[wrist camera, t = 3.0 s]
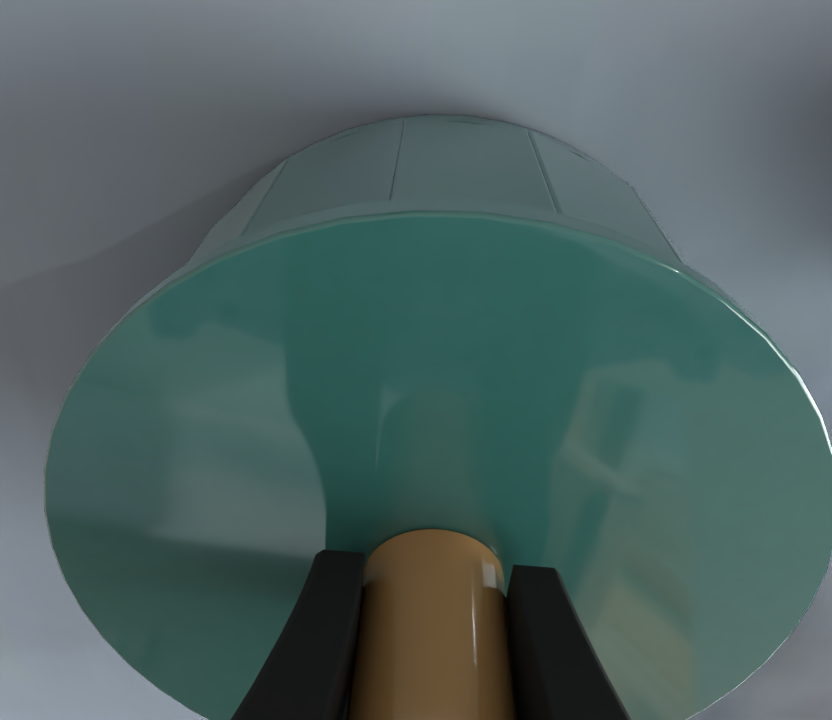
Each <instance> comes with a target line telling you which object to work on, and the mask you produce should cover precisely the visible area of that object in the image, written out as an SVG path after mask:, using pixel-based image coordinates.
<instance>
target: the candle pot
mask: <svg viewBox="0 0 832 720" xmlns="http://www.w3.org/2000/svg"><path fill="white" fill-rule="evenodd" d="M408 198H436V199H480V200H487V201H494V202H500V203H507V204H514V205H520V206H527V207H534V208H540V209H547V210H550V211H554V212H557V213H561V214H564V215H568V216H571V217H575V218H578V219H582V220H585V221H588V222H592V223H595V224H599V225H602V226H606V227H609V228H611V229H614V230H616V231H618V232H621V233H623V234H625V235H627V236H630V237H632V238H634V239H636V240H639V241H641V242H643V243H646V244H648V245H650V246H652V247H655V248H657V249H659V250H661V251H664V252H666V253H667V254H669V255H671V256H672V257H674V258H675V259H677V260H679V261H680V262H682V263H683V264H685V265H687V266H688V267H689V265H688V264H687V262H686V261H685V260H684V258H683V257H682V255H681V254H680V253H679V251H678V250H677V248H676V247H675V246H674V244H673V243H672V241H671V240H670V239H669V237H668V236H667V234H666V233H665V232H664V230H663V229H662V227H661V226H660V224H659V223H658V221H657V220H656V218H655V217H654V216H653V215H652V213H651V212H650V210H649V209H648V208H647V206H646V205H645V203H644V202H643V201H642V199H641V198H640V196H639V195H638V194H637V192H636V191H635V189H634V188H633V187H631V186H630V185H629V184H628V183H627V182H626V181H624V180H622V179H620V178H618V177H616V176H615V175H614V174H612V173H611V172H610V171H609V170H608V169H607V168H605V167H604V166H602V165H601V164H599V163H598V162H596V161H594V160H593V159H591V158H590V157H588V156H587V155H585V154H584V153H582V152H580V151H579V150H577V149H576V148H574V147H571V146H569V145H567V144H565V143H563V142H560V141H558V140H556V139H554V138H552V137H550V136H547V135H545V134H543V133H540V132H537V131H534V130H530V129H527V128H524V127H520V126H517V125H514V124H510V123H507V122H503V121H497V120H490V119H484V118H477V117H471V116H459V115H420V116H412V117H403V118H394V119H386V120H382V121H378V122H375V123H371V124H367V125H363V126H359V127H355V128H351V129H348V130H346V131H343V132H341V133H338V134H336V135H333V136H331V137H328V138H326V139H324V140H321V141H319V142H316V143H314V144H312V145H311V146H309V147H307V148H305V149H304V150H302V151H300V152H298V153H295V154H293V155H292V156H291V157H288V158H286V159H285V160H284V161H283V162H282V163H281V164H279V165H278V166H277V167H276V168H274V169H273V170H272V171H271V172H269V173H268V174H267V175H266V176H264V177H263V178H262V179H261V180H259V181H258V182H257V183H256V184H255V185H254V186H253V187H252V188H251V189H250V190H249V191H248V192H247V193H246V194H245V195H244V197H243V198H242V199H241V200H240V201H239V202H238V203H237V204H236V205H235V206H234V207H233V208H232V209H231V210H230V211H229V212H228V213H227V214H226V215H225V216H224V217H223V218H221V219H220V220H219V221H218V222H217V223H216V224H215V225H214V226H213V227H212V229H211V230H210V232H209V233H208V234H207V236H206V237H205V239H204V240H203V241H202V243H201V244H200V246H199V247H198V248H197V250H196V251H195V252H194V254H193V255H192V257H191V258H190V259H189V261H188V262H187V264H188V263H190V262H192V261H194V260H195V259H197V258H199V257H201V256H203V255H204V254H206V253H208V252H210V251H211V250H213V249H215V248H217V247H219V246H220V245H222V244H224V243H226V242H228V241H230V240H233V239H236V238H238V237H241V236H243V235H246V234H248V233H251V232H254V231H256V230H259V229H261V228H264V227H267V226H269V225H272V224H274V223H277V222H280V221H282V220H285V219H289V218H294V217H298V216H302V215H306V214H310V213H315V212H319V211H323V210H327V209H331V208H336V207H340V206H344V205H350V204H360V203H370V202H379V201H389V200H398V199H408ZM187 264H186V265H187Z"/></svg>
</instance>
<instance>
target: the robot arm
mask: <svg viewBox="0 0 832 720" xmlns="http://www.w3.org/2000/svg"><path fill="white" fill-rule="evenodd" d="M364 555H365V553H362V552H350V551H337V550H325V549H323V550H322V551H320V552H319V553H317V554H316V555H315V558H314V561H313V564H312V566H311V569H310V572H309V574H308V577H307V579H306V582H305V584H304V587H303V589H302V591H301V593H300V596H299V598H298V600H297V602H296V604H295V606H294V608H293V610H292V612H291V614H290V616H289V618H288V620H287V622H286V624H285V626H284V628H283V630H282V632H281V634H280V636H279V638H278V640H277V641H276V643H275V645H274V647H273V649H272V650H271V652H270V654H269V656H268V658H267V659H266V661H265V663H264V665H263V667H262V668H261V670H260V672H259V674H258V676H257V677H256V679H255V681H254V683H253V684H252V686H251V688H250V689H249V691H248V693H247V694H246V696H245V697H244V699H243V701H242V702H241V704H240V705H239V707H238V709H237V710H236V712H235V713H234V715H233V717H232V718H231V720H345V719H346V711H347V703H348V694H349V686H350V678H351V671H352V664H353V659H354V653H355V648H356V640H357V631H358V623H359V615H360V606H361V598H362V590H363V573H364ZM506 604H507V615H508V626H509V637H510V649H511V660H512V671H513V682H514V694H515V705H516V716H517V720H631V718H630V716H629V714H628V712H627V711H626V709H625V707H624V705H623V703H622V701H621V700H620V698H619V696H618V694H617V692H616V690H615V689H614V687H613V685H612V683H611V681H610V679H609V678H608V676H607V674H606V672H605V670H604V668H603V666H602V664H601V662H600V660H599V658H598V656H597V654H596V652H595V650H594V648H593V646H592V644H591V642H590V640H589V638H588V636H587V634H586V631H585V629H584V627H583V625H582V623H581V621H580V619H579V616H578V614H577V612H576V610H575V608H574V605H573V603H572V601H571V598H570V596H569V594H568V592H567V589H566V587H565V584H564V582H563V579H562V577H561V574H560V573H559V572H558V571H557V570H556V569H555V568H551V567H539V566H526V565H514V564H513V568H512V573H511V577H510V582H509V586H508V591H507V595H506Z"/></svg>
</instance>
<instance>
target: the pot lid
mask: <svg viewBox="0 0 832 720" xmlns="http://www.w3.org/2000/svg"><path fill="white" fill-rule="evenodd" d="M44 511H45V516H46V521H47V526H48V531H49V536H50V542H51V546H52V549H53V551H54V554H55V557H56V559H57V562H58V565H59V567H60V570H61V573H62V575H63V578H64V580H65V582H66V584H67V585H68V587H69V589H70V591H71V592H72V594H73V596H74V598H75V599H76V601H77V603H78V605H79V606H80V608H81V610H82V612H83V613H84V614H85V615H86V617H87V618H88V619H89V621H90V622H91V623H92V625H93V626H94V627H95V628H96V630H97V631H98V632H99V634H100V635H101V636H102V638H103V639H104V640H105V641H106V642H107V643H108V644H109V645H110V646H111V647H112V648H113V649H114V650H115V651H116V652H117V653H118V654H119V655H120V656H121V657H122V658H123V659H124V660H125V661H126V662H127V663H128V664H129V665H130V666H131V667H132V668H133V669H134V670H136V671H137V672H138V673H139V674H141V675H142V676H143V677H144V678H146V679H147V680H148V681H149V682H150V683H152V684H153V685H154V686H155V687H157V688H158V689H159V690H161V691H162V692H164V693H165V694H167V695H168V696H170V697H171V698H173V699H174V700H176V701H178V702H179V703H181V704H182V705H184V706H185V707H187V708H188V709H190V710H192V711H193V712H195V713H197V714H199V715H201V716H203V717H205V718H207V719H208V720H231V718H232V717H233V715H234V713H235V712H236V710H237V709H238V707H239V705H240V704H241V702H242V701H243V699H244V697H245V696H246V694H247V693H248V691H249V689H250V688H251V686H252V684H253V683H254V681H255V679H256V677H257V676H258V674H259V672H260V670H261V668H262V667H263V665H264V663H265V661H266V659H267V658H268V656H269V654H270V652H271V650H272V649H273V647H274V645H275V643H276V641H277V640H278V638H279V636H280V634H281V632H282V630H283V628H284V626H285V624H286V622H287V620H288V618H289V616H290V614H291V612H292V610H293V608H294V606H295V604H296V602H297V600H298V598H299V596H300V593H301V591H302V589H303V587H304V584H305V582H306V579H307V577H308V574H309V572H310V569H311V566H312V564H313V561H314V558H315V555H316V554H317V553H319V552H320V551H322V550H323V549H325V550H337V551H350V552H362V553H365V555H364V573H363V590H362V598H361V606H360V615H359V623H358V631H357V640H356V648H355V653H354V659H353V664H352V671H351V678H350V686H349V694H348V703H347V711H346V719H345V720H517V716H516V705H515V694H514V682H513V671H512V660H511V649H510V637H509V626H508V615H507V604H506V595H507V591H508V586H509V582H510V577H511V573H512V568H513V564H514V565H526V566H539V567H551V568H555V569H556V570H557V571H558V572H559V573H560V574H561V577H562V579H563V582H564V584H565V587H566V589H567V592H568V594H569V596H570V598H571V601H572V603H573V605H574V608H575V610H576V612H577V614H578V616H579V619H580V621H581V623H582V625H583V627H584V629H585V631H586V634H587V636H588V638H589V640H590V642H591V644H592V646H593V648H594V650H595V652H596V654H597V656H598V658H599V660H600V662H601V664H602V666H603V668H604V670H605V672H606V674H607V676H608V678H609V679H610V681H611V683H612V685H613V687H614V689H615V690H616V692H617V694H618V696H619V698H620V700H621V701H622V703H623V705H624V707H625V709H626V711H627V712H628V714H629V716H630V718H631V720H687V719H688V718H690V717H692V716H694V715H696V714H698V713H699V712H701V711H703V710H705V709H706V708H708V707H709V706H711V705H712V704H714V703H715V702H717V701H718V700H719V699H721V698H722V697H724V696H725V695H727V694H728V693H730V692H731V691H733V690H734V689H736V688H737V687H738V686H739V685H740V684H741V683H743V682H744V681H745V680H746V679H747V678H748V677H750V676H751V675H752V674H753V673H754V672H755V671H757V670H758V669H759V668H760V667H761V666H762V665H764V664H765V663H766V661H767V660H768V659H769V658H770V657H771V656H772V655H773V654H774V653H775V652H776V650H777V649H778V648H779V647H780V646H781V645H782V644H783V643H784V642H785V641H786V639H787V638H788V637H789V636H790V635H791V633H792V632H793V630H794V629H795V627H796V626H797V624H798V623H799V621H800V620H801V618H802V617H803V616H804V614H805V613H806V611H807V610H808V608H809V607H810V605H811V603H812V601H813V599H814V597H815V595H816V593H817V590H818V588H819V586H820V584H821V582H822V580H823V578H824V576H825V574H826V571H827V568H828V564H829V560H830V557H831V553H832V444H831V441H830V438H829V435H828V431H827V428H826V425H825V422H824V419H823V416H822V413H821V411H820V409H819V408H818V406H817V404H816V402H815V400H814V399H813V397H812V395H811V393H810V391H809V390H808V388H807V386H806V384H805V382H804V381H803V379H802V377H801V375H800V373H799V372H798V371H797V369H796V368H795V367H794V365H793V364H792V363H791V361H790V360H789V359H788V357H787V356H786V355H785V354H784V352H783V351H782V350H781V349H780V348H779V346H778V345H777V344H776V343H775V341H774V340H773V339H772V338H771V337H770V335H769V334H768V333H767V332H766V331H765V329H764V328H763V327H762V326H761V324H760V323H759V322H758V321H757V320H756V318H754V317H753V316H752V315H751V314H750V313H749V312H748V311H746V310H745V309H744V308H743V307H742V306H741V305H739V304H738V303H737V302H736V301H735V300H734V299H733V298H731V297H730V296H729V295H728V294H727V293H726V292H724V291H723V290H722V289H721V288H720V287H719V286H718V285H716V284H715V283H714V282H712V281H711V280H709V279H707V278H706V277H704V276H703V275H701V274H699V273H698V272H696V271H695V270H693V269H691V268H690V267H688V266H687V265H685V264H683V263H682V262H680V261H679V260H677V259H675V258H674V257H672V256H671V255H669V254H667V253H666V252H664V251H661V250H659V249H657V248H655V247H652V246H650V245H648V244H646V243H643V242H641V241H639V240H636V239H634V238H632V237H630V236H627V235H625V234H623V233H621V232H618V231H616V230H614V229H611V228H609V227H606V226H602V225H599V224H595V223H592V222H588V221H585V220H582V219H578V218H575V217H571V216H568V215H564V214H561V213H557V212H554V211H550V210H547V209H540V208H534V207H527V206H520V205H514V204H507V203H500V202H494V201H487V200H480V199H436V198H408V199H398V200H389V201H379V202H370V203H360V204H350V205H344V206H340V207H336V208H331V209H327V210H323V211H319V212H315V213H310V214H306V215H302V216H298V217H294V218H289V219H285V220H282V221H280V222H277V223H274V224H272V225H269V226H267V227H264V228H261V229H259V230H256V231H254V232H251V233H248V234H246V235H243V236H241V237H238V238H236V239H233V240H230V241H228V242H226V243H224V244H222V245H220V246H219V247H217V248H215V249H213V250H211V251H210V252H208V253H206V254H204V255H203V256H201V257H199V258H197V259H195V260H194V261H192V262H190V263H188V264H187V265H185V266H183V267H181V268H179V269H178V270H176V271H175V272H174V273H172V274H171V275H170V276H169V277H167V278H166V279H165V280H163V281H162V282H161V283H160V284H158V285H157V286H156V287H154V288H153V289H152V290H151V291H149V292H148V293H147V294H146V295H144V296H143V297H142V298H140V299H139V300H138V301H137V302H135V303H134V305H133V306H132V307H131V308H130V309H129V310H128V311H127V312H126V313H125V314H124V315H123V317H122V318H121V319H120V320H119V321H118V322H117V323H116V324H115V325H114V326H113V327H112V329H111V330H110V331H109V332H108V333H107V334H106V335H105V336H104V337H103V338H102V340H101V341H100V342H99V344H98V345H97V346H96V347H95V349H94V350H93V351H92V352H91V354H90V355H89V357H88V359H87V360H86V362H85V363H84V365H83V366H82V368H81V370H80V371H79V373H78V374H77V376H76V378H75V379H74V381H73V382H72V384H71V385H70V387H69V389H68V390H67V392H66V394H65V397H64V400H63V402H62V405H61V407H60V410H59V412H58V415H57V417H56V420H55V422H54V425H53V427H52V430H51V435H50V440H49V445H48V451H47V456H46V462H45V467H44Z"/></svg>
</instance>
